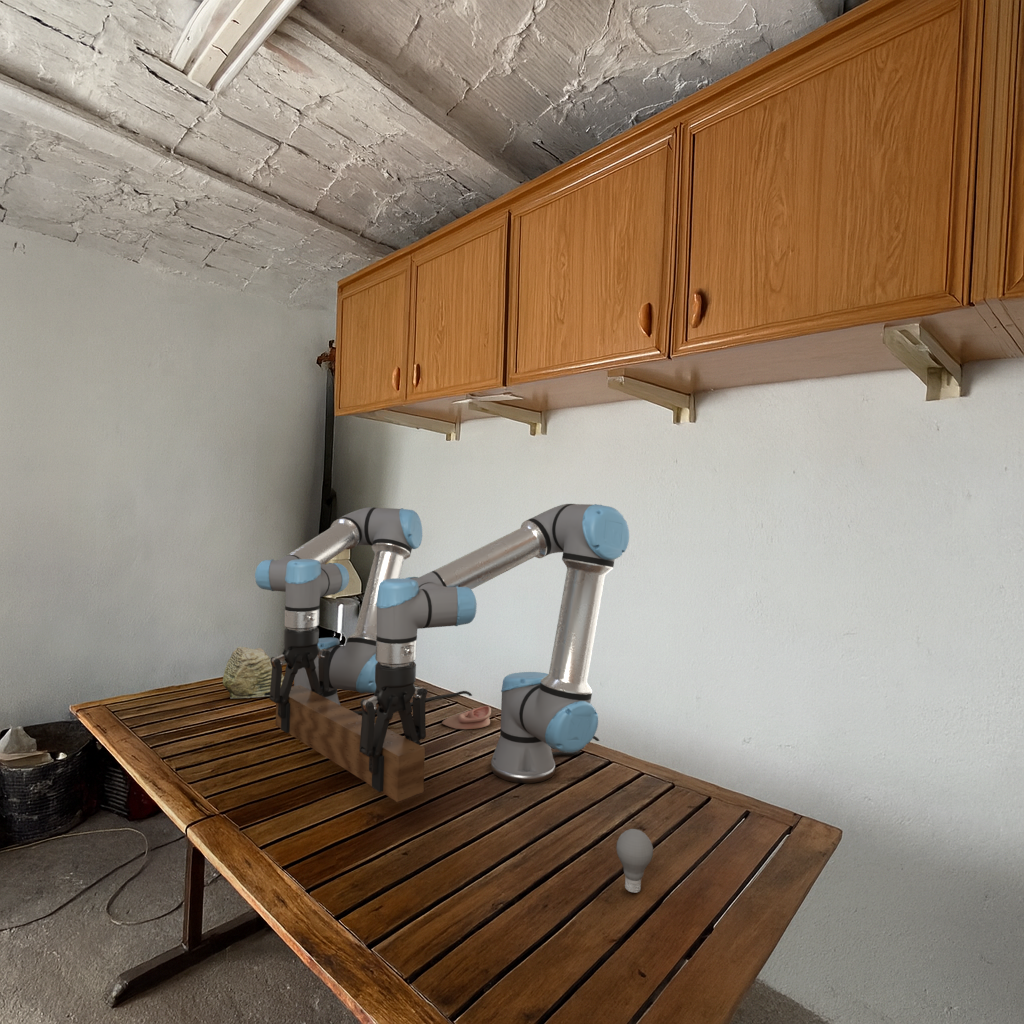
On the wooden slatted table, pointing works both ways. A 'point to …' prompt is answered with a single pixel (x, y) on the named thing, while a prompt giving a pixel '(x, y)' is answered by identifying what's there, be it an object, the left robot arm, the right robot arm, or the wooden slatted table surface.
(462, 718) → the anatomical model
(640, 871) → the light bulb
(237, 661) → the fossil
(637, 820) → the wooden slatted table surface
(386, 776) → the bar
